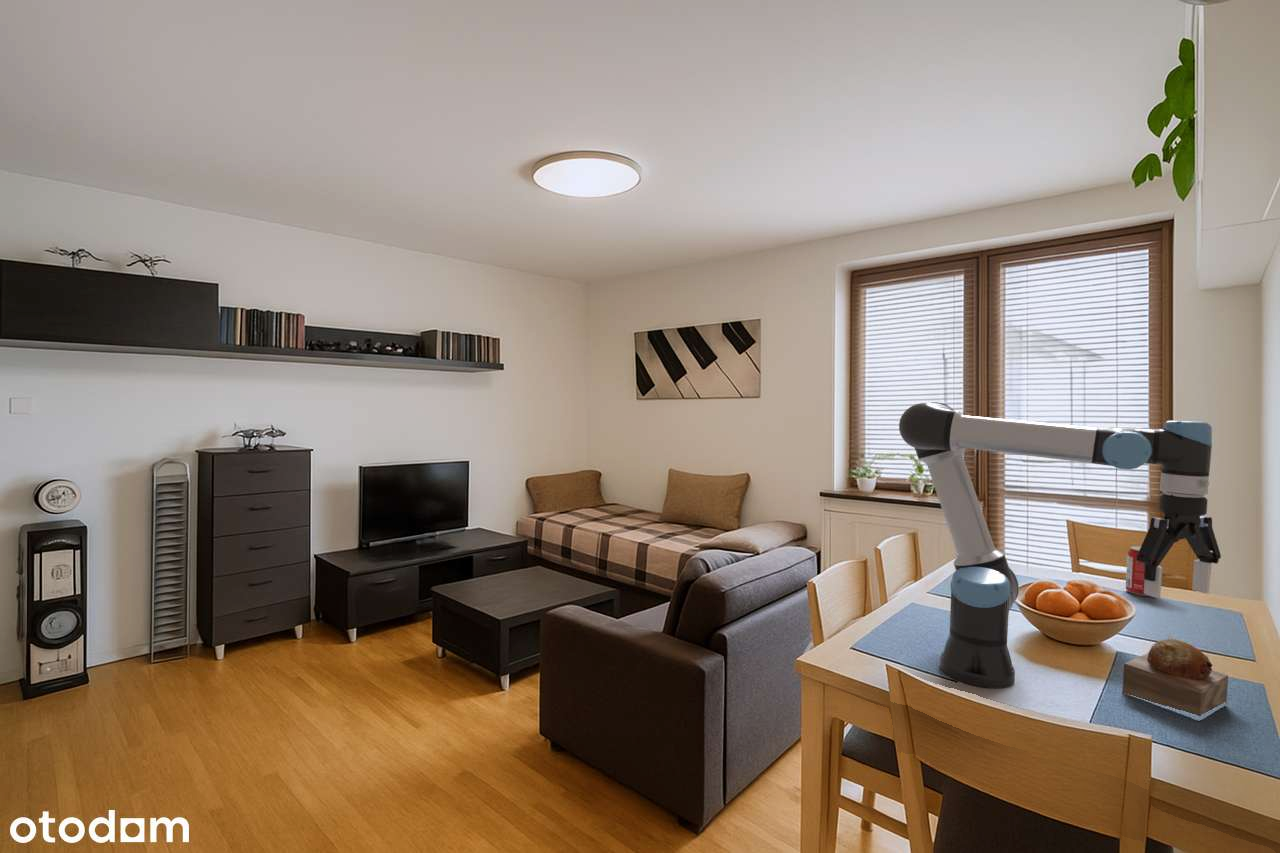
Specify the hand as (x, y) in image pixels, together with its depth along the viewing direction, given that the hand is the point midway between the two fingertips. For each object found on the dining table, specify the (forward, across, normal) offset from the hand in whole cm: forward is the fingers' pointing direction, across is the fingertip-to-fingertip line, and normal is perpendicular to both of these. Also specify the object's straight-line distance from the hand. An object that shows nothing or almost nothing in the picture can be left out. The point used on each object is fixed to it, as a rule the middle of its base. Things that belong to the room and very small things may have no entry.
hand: (1176, 593), depth 128 cm
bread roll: (+16, +1, -1) cm, 16 cm away
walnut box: (+23, 0, -1) cm, 23 cm away
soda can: (+23, +66, +54) cm, 89 cm away
